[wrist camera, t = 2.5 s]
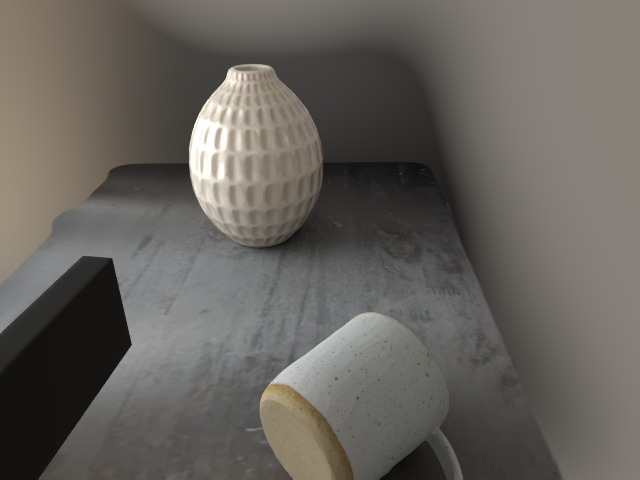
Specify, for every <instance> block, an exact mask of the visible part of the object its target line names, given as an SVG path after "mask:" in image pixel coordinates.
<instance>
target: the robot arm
mask: <svg viewBox="0 0 640 480" xmlns="http://www.w3.org/2000/svg"><path fill="white" fill-rule="evenodd" d="M131 345H132V344H131V339H130V335H129V330H128V326H127V321H126V317H125V313H124V308H123V304H122V299H121V295H120V291H119V286H118V282H117V277H116V273H115V269H114V264H113V260H112V258H103V257H91V256H82V257H81V258H80V259H79V260H78V261H77V262H76V263H75V264H74V265H73V266H72V267H71V268H70V269H69V270H68V271H66V272H65V273H64V274H63V275H62V276H61V277H60V278H59V279H58V280H57V281H56V282H55V283H54V284H53V285H52V286H50V287H49V288H48V289H47V290H46V291H45V292H44V293H43V294H42V295H41V296H40V297H39V298H38V299H37V300H36V301H34V302H33V303H32V304H31V305H30V306H29V307H28V308H27V309H26V310H25V311H24V312H23V313H22V314H21V315H20V316H18V317H17V318H16V319H15V320H14V321H13V322H12V323H11V324H10V325H9V326H8V327H7V328H6V329H5V330H4V331H2V332H1V333H0V480H38V479H39V477H40V476H41V474H42V473H43V472H44V470H45V469H46V467H47V466H48V464H49V463H50V462H51V460H52V459H53V457H54V456H55V454H56V453H57V451H58V450H59V449H60V447H61V446H62V444H63V443H64V441H65V440H66V439H67V437H68V436H69V434H70V433H71V431H72V430H73V429H74V427H75V426H76V424H77V423H78V421H79V420H80V418H81V417H82V416H83V414H84V413H85V411H86V410H87V408H88V407H89V406H90V404H91V403H92V401H93V400H94V398H95V397H96V396H97V394H98V393H99V391H100V390H101V388H102V387H103V385H104V384H105V383H106V381H107V380H108V378H109V377H110V375H111V374H112V373H113V371H114V370H115V368H116V367H117V365H118V364H119V362H120V361H121V360H122V358H123V357H124V355H125V354H126V352H127V351H128V350H129V348H130V347H131Z"/></svg>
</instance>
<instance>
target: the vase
mask: <svg viewBox="0 0 640 480" xmlns="http://www.w3.org/2000/svg"><path fill="white" fill-rule="evenodd" d="M189 166H190V174H191V181H192V185H193V189H194V192H195V194H196V197H197V199H198V201H199V203H200V205H201V207H202V209H203V210H204V212H205V213H206V215H207V216H208V217H209V219H210V220H211V221H212V222H213V223H214V224H215V226H216V227H217V228H218V229H219V230H220V231H221V232H223V233H224V234H225V235H227V236H228V237H229V238H231V239H232V240H234V241H235V242H237V243H238V244H240V245H243V246H247V247H255V248H262V247H270V246H275V245H278V244H280V243H283V242H285V241H286V240H287V239H289V238H290V237H291V236H292V235H293V234H294V233H295V232H296V231H297V230H298V229H299V228H300V227H301V226H302V225H303V224H304V222H305V221H306V219H307V218H308V216H309V215H310V213H311V211H312V209H313V207H314V205H315V203H316V201H317V199H318V196H319V193H320V189H321V185H322V177H323V153H322V147H321V141H320V138H319V135H318V132H317V129H316V127H315V124H314V122H313V120H312V118H311V116H310V114H309V112H308V111H307V109H306V108H305V106H304V105H303V104H302V102H301V101H300V100H299V99H298V97H297V96H296V95H295V94H294V93H293V92H292V91H291V90H290V89H289V88H287V86H285V85H284V84H283V83H282V82H281V81H280V80H279V79H278V78H277V76H276V74H275V71H274V69H273V68H271V67H270V66H266V65H260V64H247V65H238V66H235V67H232V68H230V69H229V71H228V74H227V78H226V80H225V81H224V82H223V83H222V84H221V86H220V87H219V88H218V89H217V90H216V91H215V92H214V93H213V94H212V96H211V97H210V98H209V99H208V101H207V102H206V103H205V105H204V107H203V108H202V110H201V112H200V114H199V117H198V119H197V121H196V123H195V126H194V129H193V133H192V136H191V141H190V147H189Z"/></svg>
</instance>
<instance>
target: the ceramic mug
mask: <svg viewBox="0 0 640 480" xmlns="http://www.w3.org/2000/svg"><path fill="white" fill-rule="evenodd" d="M448 412H449V392H448V388H447V384H446V381H445V378H444V375H443V373H442V371H441V369H440V367H439V365H438V363H437V362H436V360H435V358H434V357H433V355H432V354H431V352H430V351H429V350H428V348H427V347H426V346H425V345H424V343H423V342H422V341H421V340H420V339H419V338H418V336H417V335H416V334H415V333H413V332H412V331H411V330H410V329H409V328H407V327H406V326H404V325H403V324H402V323H400V322H399V321H397V320H396V319H394V318H392V317H389V316H387V315H384V314H380V313H375V312H368V313H362V314H360V315H358V316H356V317H355V318H353V319H352V320H351V321H349V322H348V323H347V324H346V325H344V326H343V327H342V328H340V329H339V330H338V331H336V332H335V333H334V334H332V335H331V336H329V337H328V338H327V339H325V340H324V341H323V342H321V343H320V344H319V345H317V346H316V347H315V348H314V349H312V350H311V351H310V352H308V353H307V354H306V355H304V356H303V357H301V358H300V359H298V360H297V361H295V362H294V363H293V364H291V365H290V366H288V367H287V368H286V369H285V370H283V371H282V372H281V373H280V374H279V375H278V376H277V377H276V378H275V379H274V380H273V381H272V382H271V383H270V384H269V386H268V387H267V388H266V389H265V391H264V392H263V395H262V397H261V402H260V417H261V422H262V426H263V430H264V433H265V435H266V438H267V440H268V442H269V444H270V446H271V448H272V450H273V452H274V453H275V455H276V457H277V458H278V460H279V462H280V463H281V465H282V466H283V467H284V468H285V470H286V471H287V472H288V474H289V475H290V476H291V477H292V479H293V480H379V479H381V478H382V477H383V476H384V475H385V474H387V473H388V472H389V471H390V470H391V468H392V467H393V466H394V465H396V464H397V463H398V462H399V461H401V460H402V459H403V458H404V457H406V456H407V455H409V454H410V453H411V452H412V451H413V450H414V449H415V448H417V447H418V446H419V445H420V444H421V443H422V442H424V441H425V440H426V441H427V442H428V443H429V444H430V446H431V448H432V449H433V451H434V453H435V454H436V456H437V458H438V460H439V462H440V464H441V466H442V469H443V471H444V474H445V477H446V480H463V475H462V472H461V468H460V465H459V462H458V459H457V457H456V454H455V452H454V450H453V448H452V446H451V445H450V443H449V441H448V439H447V438H446V437H445V435H444V433H443V432H442V430H441V429H440V426H441V425H442V424H443V423H444V421H445V419H446V416H447V414H448Z"/></svg>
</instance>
